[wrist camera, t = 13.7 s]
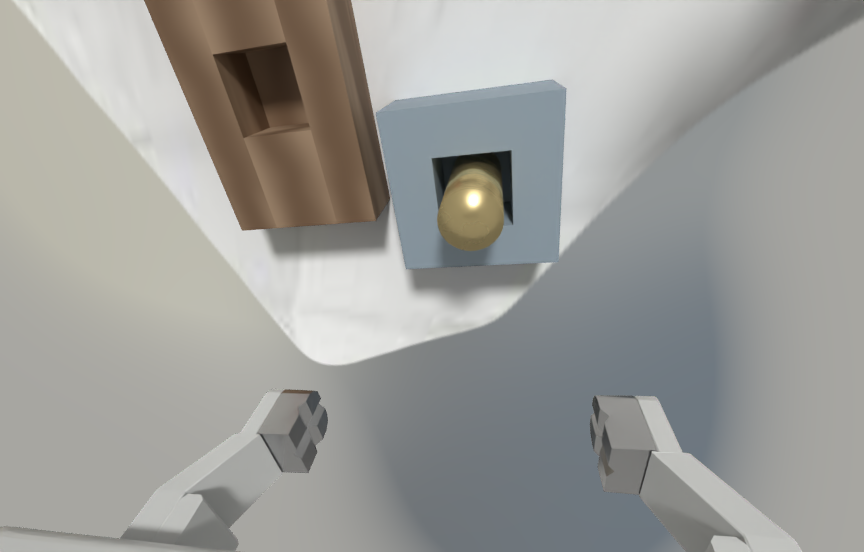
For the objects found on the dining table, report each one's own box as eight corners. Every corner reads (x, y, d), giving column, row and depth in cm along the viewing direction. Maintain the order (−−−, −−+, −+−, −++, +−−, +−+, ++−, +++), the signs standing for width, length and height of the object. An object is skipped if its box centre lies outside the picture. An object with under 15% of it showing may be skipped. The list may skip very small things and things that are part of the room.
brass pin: (500, 144, 30) (502, 186, 21) (502, 193, 32) (505, 249, 23) (450, 150, 30) (433, 192, 22) (455, 197, 32) (441, 252, 24)
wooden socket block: (331, -100, 24) (297, -129, 20) (390, 198, 34) (375, 220, 30) (170, -61, 26) (109, -80, 22) (270, 208, 37) (242, 230, 32)
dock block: (552, 79, 28) (566, 88, 23) (548, 228, 34) (558, 261, 29) (395, 100, 30) (375, 112, 25) (417, 237, 36) (406, 269, 31)
